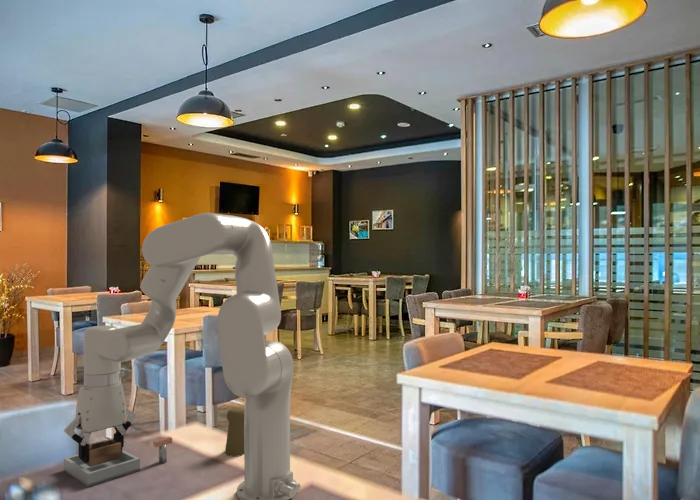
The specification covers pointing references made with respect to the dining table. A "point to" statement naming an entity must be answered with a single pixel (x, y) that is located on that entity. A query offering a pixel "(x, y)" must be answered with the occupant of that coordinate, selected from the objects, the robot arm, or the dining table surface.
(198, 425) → the dining table surface
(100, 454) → the collar
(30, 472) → the dining table surface
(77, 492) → the dining table surface
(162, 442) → the brown grey t-shaped piece
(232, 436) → the cork
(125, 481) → the dining table surface
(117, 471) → the tray
